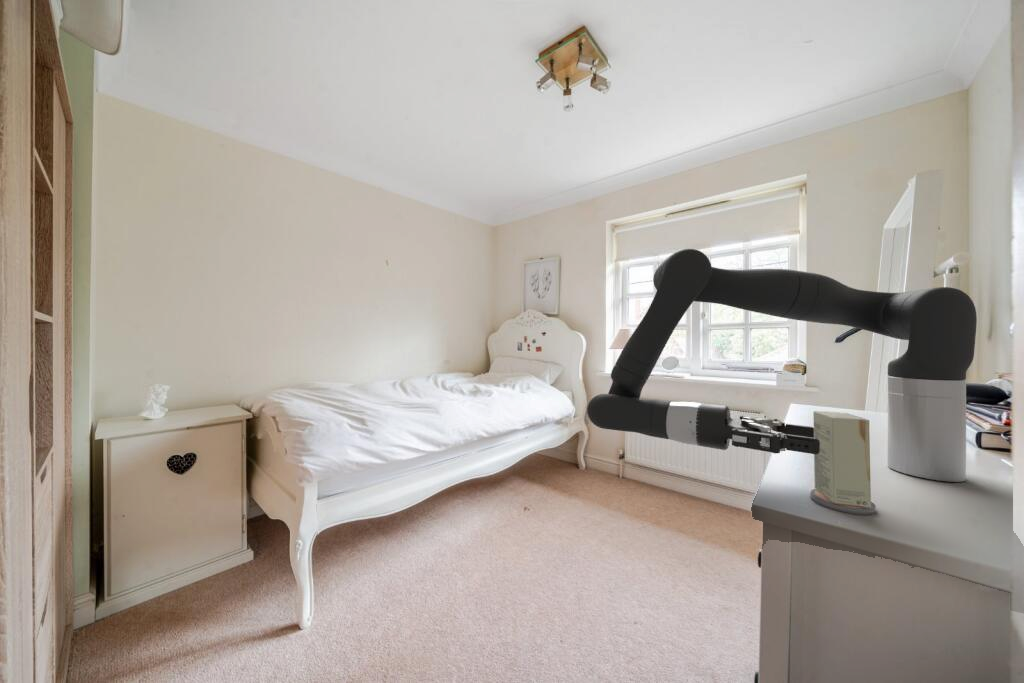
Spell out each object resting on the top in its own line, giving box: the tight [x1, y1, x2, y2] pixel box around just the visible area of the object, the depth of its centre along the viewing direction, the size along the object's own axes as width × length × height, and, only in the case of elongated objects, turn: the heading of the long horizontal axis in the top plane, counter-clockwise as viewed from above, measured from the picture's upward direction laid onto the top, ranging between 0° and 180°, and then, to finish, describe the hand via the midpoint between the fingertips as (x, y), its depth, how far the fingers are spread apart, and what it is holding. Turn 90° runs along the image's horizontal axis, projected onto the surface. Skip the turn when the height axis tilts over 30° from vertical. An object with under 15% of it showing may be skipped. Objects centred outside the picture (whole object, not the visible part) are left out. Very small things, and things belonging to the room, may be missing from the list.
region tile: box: [809, 488, 877, 516], centre depth 52 cm, size 7×7×1 cm
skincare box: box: [813, 410, 872, 508], centre depth 52 cm, size 6×4×12 cm
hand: (817, 440), depth 53 cm, fingers open, 8 cm apart
